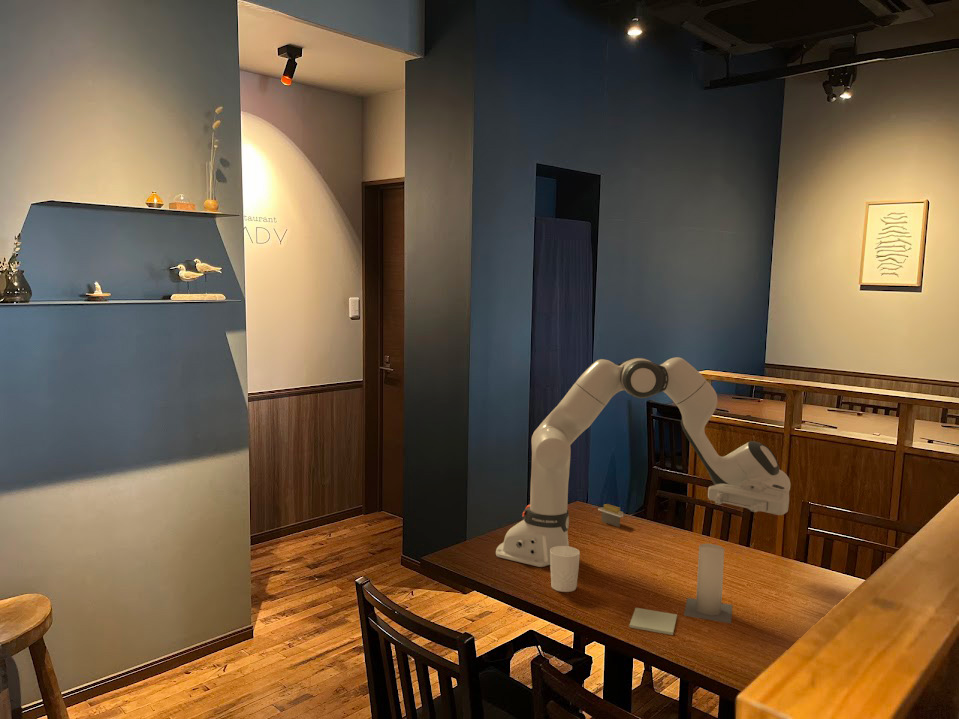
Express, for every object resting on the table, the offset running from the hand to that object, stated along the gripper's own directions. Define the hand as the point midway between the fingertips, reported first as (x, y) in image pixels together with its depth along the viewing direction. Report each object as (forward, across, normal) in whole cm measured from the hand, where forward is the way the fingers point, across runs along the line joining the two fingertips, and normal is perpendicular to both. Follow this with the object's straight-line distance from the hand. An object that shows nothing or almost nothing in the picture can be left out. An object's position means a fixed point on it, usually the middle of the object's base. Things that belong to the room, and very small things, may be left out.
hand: (734, 504), depth 186 cm
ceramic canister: (+12, 0, +24) cm, 27 cm away
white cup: (+27, -34, +25) cm, 50 cm away
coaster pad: (+28, -7, +25) cm, 38 cm away
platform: (-27, -54, +25) cm, 66 cm away
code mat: (+12, 0, +25) cm, 28 cm away
